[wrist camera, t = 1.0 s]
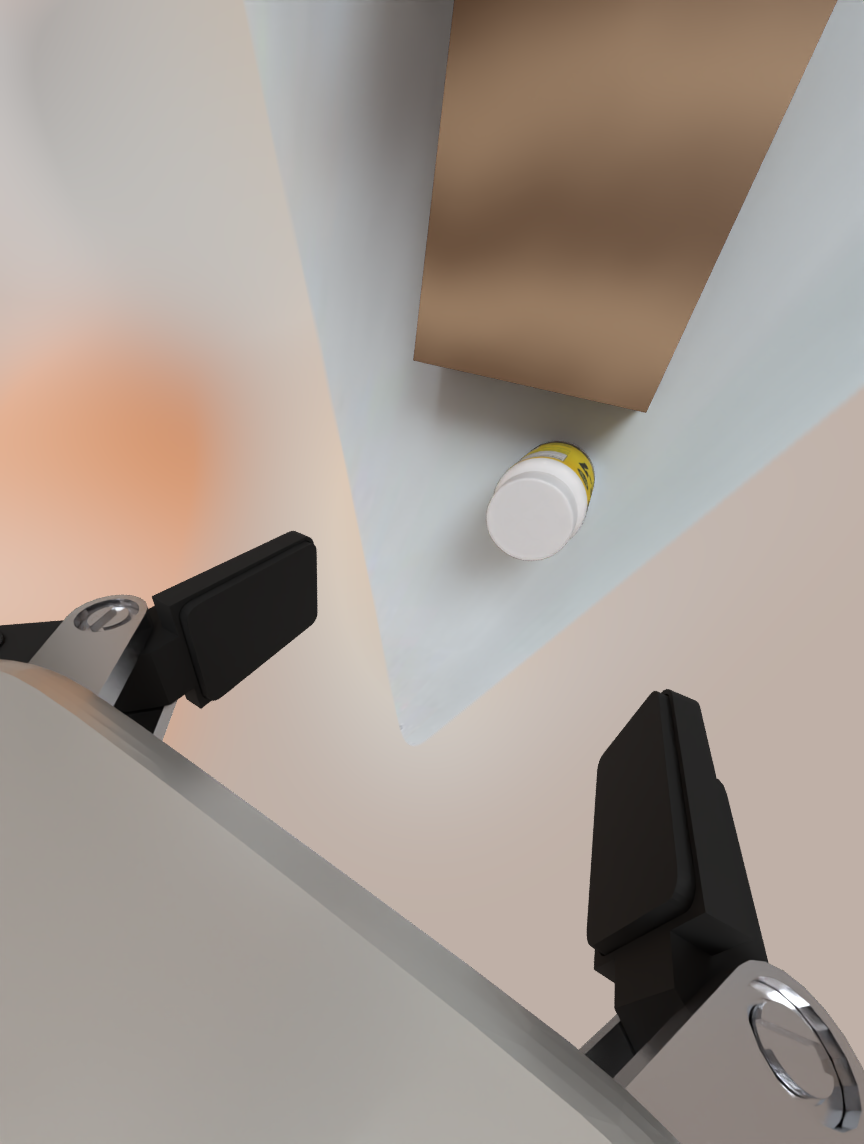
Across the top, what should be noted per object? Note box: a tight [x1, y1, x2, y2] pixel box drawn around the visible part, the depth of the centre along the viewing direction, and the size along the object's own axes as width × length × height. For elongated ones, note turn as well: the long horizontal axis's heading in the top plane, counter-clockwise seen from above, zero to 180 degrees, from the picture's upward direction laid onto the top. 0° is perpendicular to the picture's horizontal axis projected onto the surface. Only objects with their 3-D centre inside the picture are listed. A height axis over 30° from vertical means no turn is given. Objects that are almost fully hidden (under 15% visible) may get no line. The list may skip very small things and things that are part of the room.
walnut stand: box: [413, 0, 837, 413], centre depth 16 cm, size 12×12×4 cm
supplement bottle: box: [486, 441, 595, 561], centre depth 19 cm, size 5×5×8 cm
